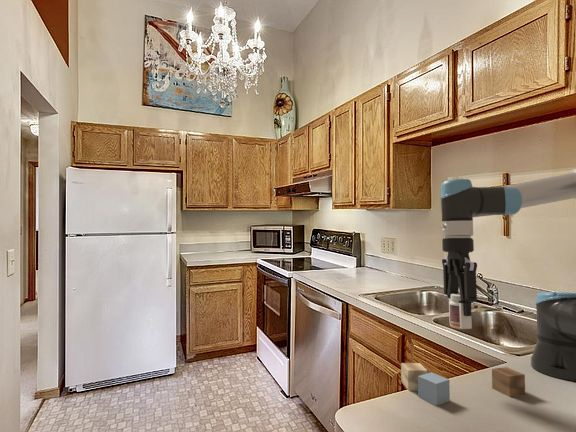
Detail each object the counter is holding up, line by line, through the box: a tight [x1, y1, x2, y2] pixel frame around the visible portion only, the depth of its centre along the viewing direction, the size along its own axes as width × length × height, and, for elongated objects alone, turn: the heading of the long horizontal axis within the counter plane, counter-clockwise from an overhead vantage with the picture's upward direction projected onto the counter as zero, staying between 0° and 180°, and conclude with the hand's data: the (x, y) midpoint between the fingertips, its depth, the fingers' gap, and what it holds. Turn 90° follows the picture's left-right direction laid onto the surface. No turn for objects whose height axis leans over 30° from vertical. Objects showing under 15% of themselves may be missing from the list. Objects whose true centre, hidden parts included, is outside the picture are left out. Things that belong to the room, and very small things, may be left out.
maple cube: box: [400, 362, 429, 391], centre depth 90 cm, size 5×5×5 cm
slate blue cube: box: [417, 371, 451, 407], centre depth 83 cm, size 5×5×5 cm
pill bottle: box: [448, 293, 462, 330], centre depth 91 cm, size 5×5×8 cm
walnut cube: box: [491, 366, 526, 398], centre depth 88 cm, size 5×5×5 cm
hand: (460, 325), depth 91 cm, fingers closed on pill bottle, 5 cm apart
